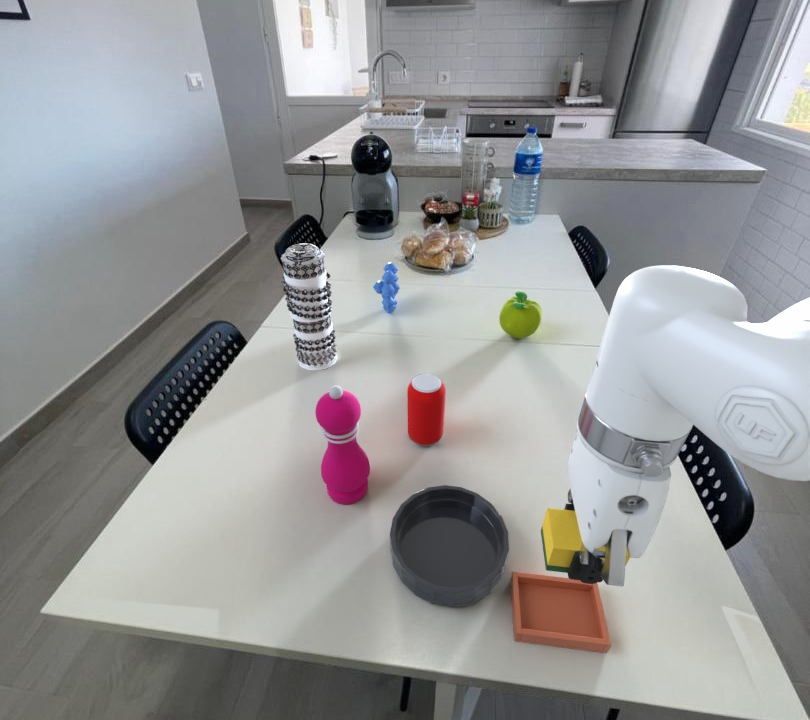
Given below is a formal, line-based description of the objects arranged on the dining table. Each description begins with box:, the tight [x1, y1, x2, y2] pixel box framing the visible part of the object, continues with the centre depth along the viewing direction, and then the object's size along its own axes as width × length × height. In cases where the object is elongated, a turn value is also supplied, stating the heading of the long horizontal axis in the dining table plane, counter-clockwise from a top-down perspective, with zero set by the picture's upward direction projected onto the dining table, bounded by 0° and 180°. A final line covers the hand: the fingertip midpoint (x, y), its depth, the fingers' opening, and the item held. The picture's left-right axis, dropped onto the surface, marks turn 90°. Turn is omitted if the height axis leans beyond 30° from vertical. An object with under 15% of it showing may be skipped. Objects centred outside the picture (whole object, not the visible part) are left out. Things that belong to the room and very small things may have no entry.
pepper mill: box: [315, 384, 371, 505], centre depth 63 cm, size 7×7×20 cm
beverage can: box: [406, 373, 447, 447], centre depth 74 cm, size 6×6×12 cm
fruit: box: [498, 290, 543, 340], centre depth 101 cm, size 9×9×10 cm
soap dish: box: [509, 571, 612, 654], centre depth 53 cm, size 10×7×2 cm
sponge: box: [540, 507, 631, 574], centre depth 45 cm, size 7×4×4 cm, turn 83°
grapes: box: [372, 261, 401, 315], centre depth 111 cm, size 12×7×12 cm, turn 175°
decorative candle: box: [280, 242, 338, 372], centre depth 89 cm, size 9×9×25 cm
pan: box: [389, 484, 510, 608], centre depth 59 cm, size 15×15×4 cm
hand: (579, 551), depth 46 cm, fingers closed on sponge, 4 cm apart
